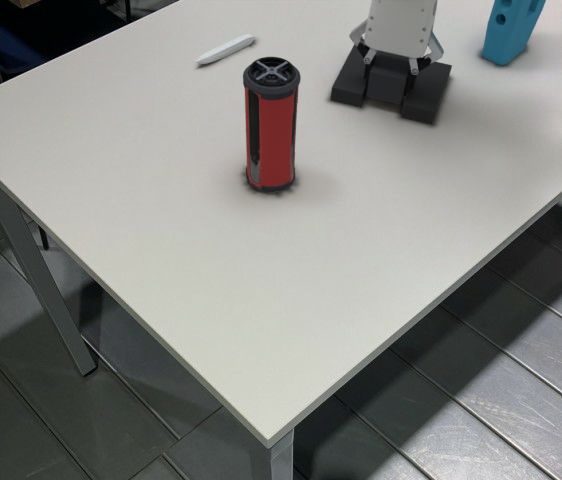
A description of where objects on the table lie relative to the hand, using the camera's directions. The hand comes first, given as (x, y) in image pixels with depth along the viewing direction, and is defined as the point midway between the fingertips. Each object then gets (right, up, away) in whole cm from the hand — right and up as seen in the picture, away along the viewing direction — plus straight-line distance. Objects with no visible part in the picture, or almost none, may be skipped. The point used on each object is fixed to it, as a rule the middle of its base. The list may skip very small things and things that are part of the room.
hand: (388, 86), depth 106 cm
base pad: (+1, +1, +4) cm, 4 cm away
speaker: (-20, -18, -8) cm, 28 cm away
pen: (-28, +10, +9) cm, 31 cm away
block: (+23, +11, +11) cm, 28 cm away
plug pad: (0, 0, +1) cm, 1 cm away
